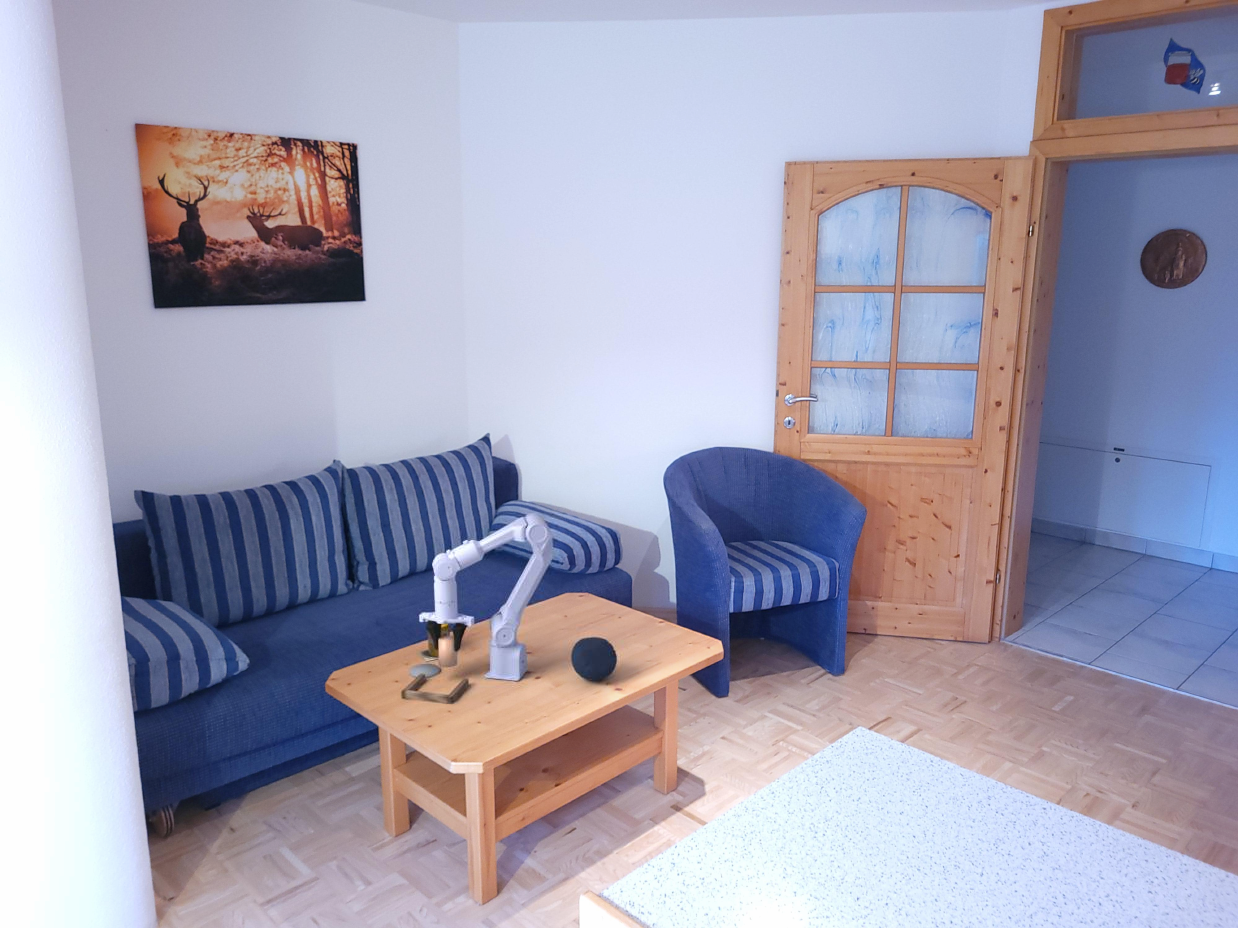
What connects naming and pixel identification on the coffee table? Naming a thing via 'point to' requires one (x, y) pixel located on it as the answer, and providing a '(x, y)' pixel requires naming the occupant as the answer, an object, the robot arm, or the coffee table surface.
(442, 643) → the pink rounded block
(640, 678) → the coffee table surface
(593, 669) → the decorative stone
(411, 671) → the coaster
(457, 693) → the holder
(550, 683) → the coffee table surface
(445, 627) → the condiment
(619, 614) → the coffee table surface
